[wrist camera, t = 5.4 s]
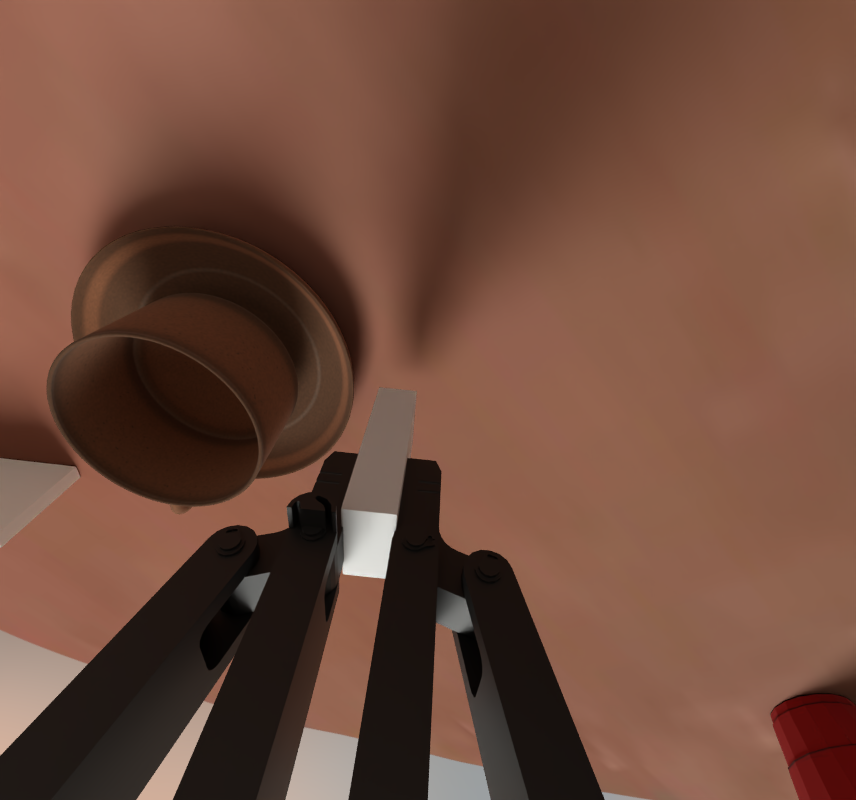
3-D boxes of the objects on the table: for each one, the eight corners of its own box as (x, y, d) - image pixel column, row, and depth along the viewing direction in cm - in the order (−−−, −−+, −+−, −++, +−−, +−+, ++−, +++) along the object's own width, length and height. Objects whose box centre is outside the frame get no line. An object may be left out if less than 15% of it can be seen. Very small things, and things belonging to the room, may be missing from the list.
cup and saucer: (374, 455, 23) (350, 550, 17) (161, 454, 24) (76, 544, 18) (342, 213, 17) (288, 247, 11) (53, 223, 17) (-121, 259, 12)
